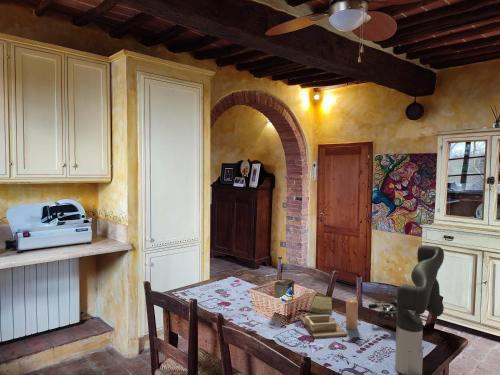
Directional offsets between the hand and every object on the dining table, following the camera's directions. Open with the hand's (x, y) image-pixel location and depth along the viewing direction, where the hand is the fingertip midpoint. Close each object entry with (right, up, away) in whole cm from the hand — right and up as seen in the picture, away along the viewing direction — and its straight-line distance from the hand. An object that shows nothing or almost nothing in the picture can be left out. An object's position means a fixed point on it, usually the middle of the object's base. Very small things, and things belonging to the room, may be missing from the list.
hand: (373, 310), depth 181 cm
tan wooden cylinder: (-11, -8, -2) cm, 14 cm away
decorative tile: (-25, -7, +24) cm, 36 cm away
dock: (-25, -8, -2) cm, 27 cm away
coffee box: (-42, -6, +17) cm, 46 cm away
